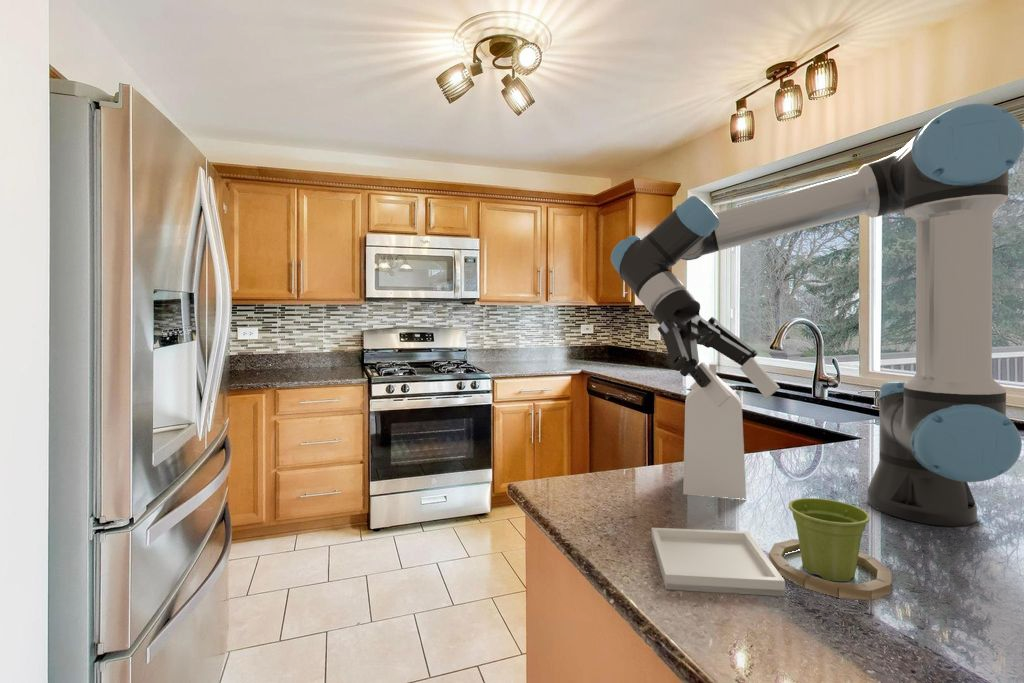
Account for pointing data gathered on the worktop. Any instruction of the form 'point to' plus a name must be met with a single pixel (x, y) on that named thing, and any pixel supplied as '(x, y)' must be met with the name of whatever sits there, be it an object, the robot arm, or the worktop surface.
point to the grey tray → (715, 562)
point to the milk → (713, 445)
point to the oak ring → (840, 590)
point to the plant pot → (829, 536)
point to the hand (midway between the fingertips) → (750, 397)
